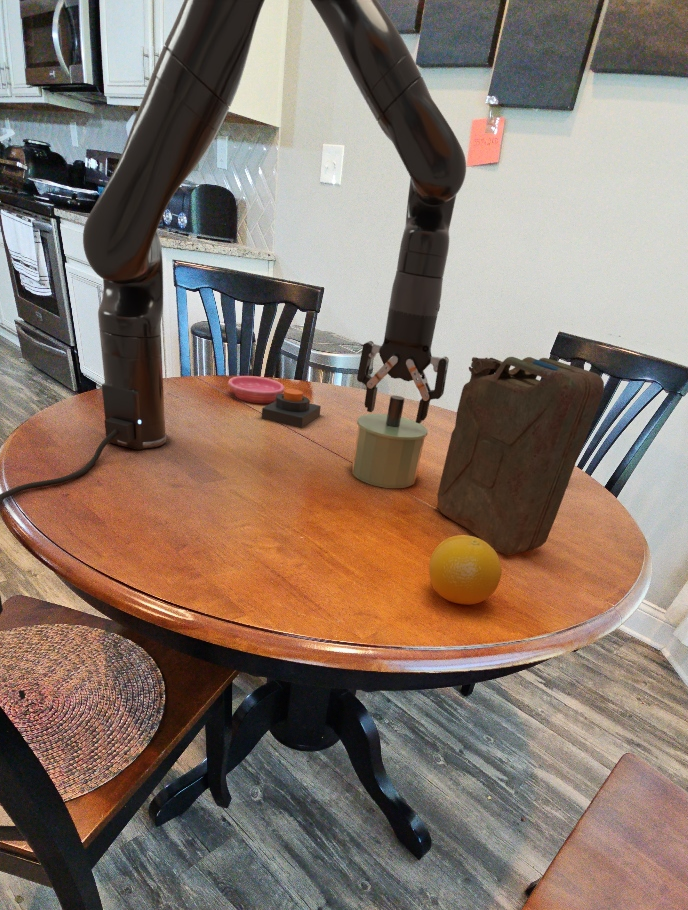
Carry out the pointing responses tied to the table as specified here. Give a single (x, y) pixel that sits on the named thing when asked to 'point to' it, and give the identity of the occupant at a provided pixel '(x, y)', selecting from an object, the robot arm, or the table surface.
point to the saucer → (255, 389)
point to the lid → (393, 423)
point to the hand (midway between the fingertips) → (394, 416)
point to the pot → (386, 460)
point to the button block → (291, 411)
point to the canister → (516, 448)
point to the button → (293, 395)
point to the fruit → (464, 569)
